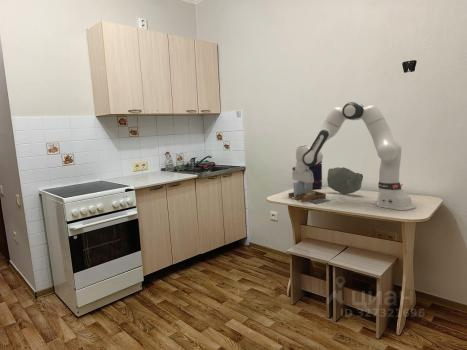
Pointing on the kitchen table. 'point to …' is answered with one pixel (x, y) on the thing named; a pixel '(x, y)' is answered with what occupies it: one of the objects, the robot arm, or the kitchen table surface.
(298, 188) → the blue-gray rectangular block
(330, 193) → the kitchen table surface
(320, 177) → the grenade
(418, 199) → the kitchen table surface
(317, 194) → the rack
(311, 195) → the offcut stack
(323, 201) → the mat
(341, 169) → the rock
